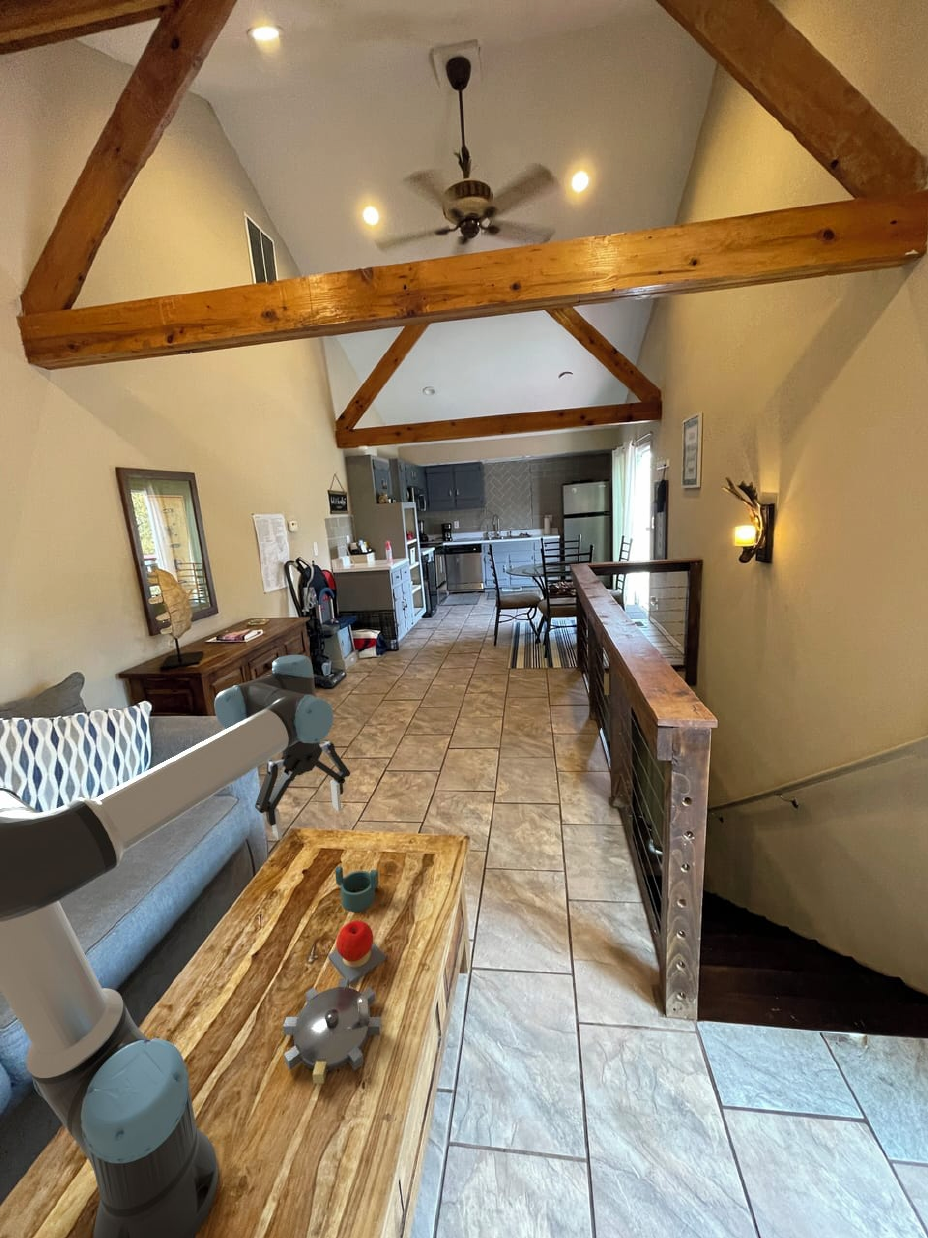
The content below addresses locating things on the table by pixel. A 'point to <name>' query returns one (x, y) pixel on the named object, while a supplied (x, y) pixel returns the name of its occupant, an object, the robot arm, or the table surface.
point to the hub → (331, 1018)
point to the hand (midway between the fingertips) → (308, 822)
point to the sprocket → (331, 1030)
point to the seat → (357, 963)
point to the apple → (354, 940)
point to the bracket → (357, 881)
